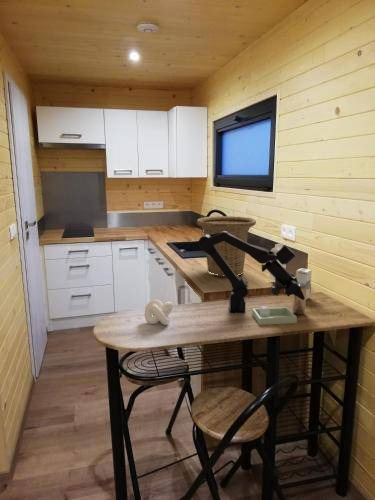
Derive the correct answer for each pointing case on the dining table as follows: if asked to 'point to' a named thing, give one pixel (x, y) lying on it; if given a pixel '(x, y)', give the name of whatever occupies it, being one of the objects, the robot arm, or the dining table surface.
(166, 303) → the cream knot sculpture
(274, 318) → the tote
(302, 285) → the coffee tin
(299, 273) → the syrup box
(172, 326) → the dining table surface
